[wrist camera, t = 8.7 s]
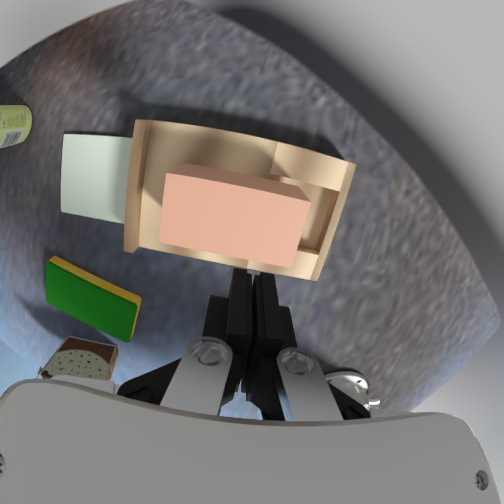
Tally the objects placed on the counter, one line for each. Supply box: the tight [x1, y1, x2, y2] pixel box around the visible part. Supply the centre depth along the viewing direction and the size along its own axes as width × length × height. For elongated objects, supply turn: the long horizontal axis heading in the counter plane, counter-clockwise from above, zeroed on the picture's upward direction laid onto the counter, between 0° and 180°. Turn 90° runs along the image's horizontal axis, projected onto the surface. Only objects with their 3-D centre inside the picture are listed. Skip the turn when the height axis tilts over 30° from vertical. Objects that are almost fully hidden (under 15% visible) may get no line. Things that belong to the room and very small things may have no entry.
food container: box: [37, 335, 118, 381], centre depth 32 cm, size 12×6×10 cm, turn 86°
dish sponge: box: [46, 256, 142, 342], centre depth 31 cm, size 7×14×2 cm, turn 65°
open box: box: [124, 119, 356, 281], centre depth 24 cm, size 19×12×4 cm, turn 77°
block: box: [159, 163, 311, 268], centre depth 21 cm, size 5×5×10 cm
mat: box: [61, 134, 132, 224], centre depth 25 cm, size 9×9×1 cm
